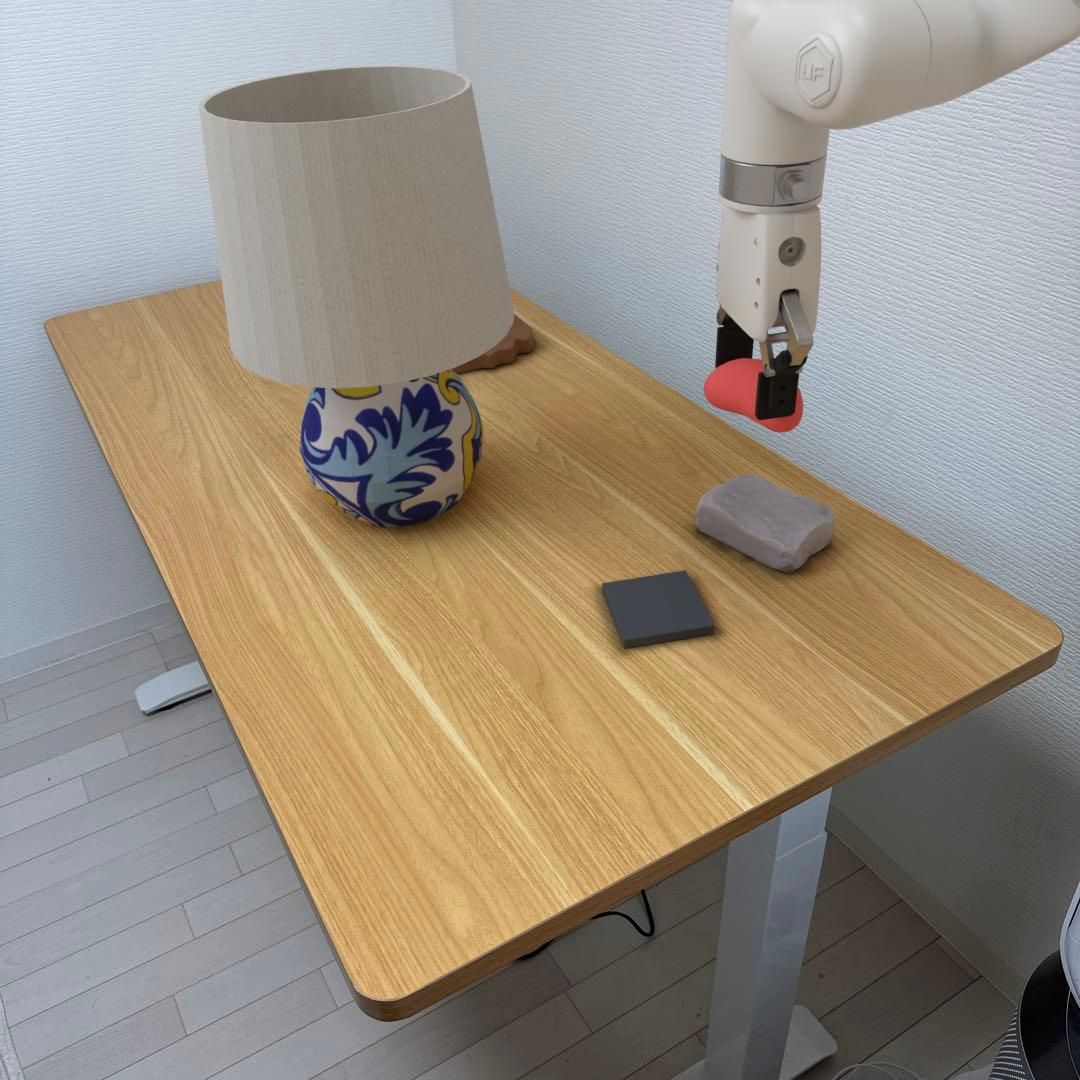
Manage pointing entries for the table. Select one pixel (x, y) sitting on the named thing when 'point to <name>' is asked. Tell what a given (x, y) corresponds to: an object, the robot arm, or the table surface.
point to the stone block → (765, 521)
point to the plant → (503, 348)
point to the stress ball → (745, 393)
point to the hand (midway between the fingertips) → (752, 390)
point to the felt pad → (656, 609)
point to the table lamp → (363, 272)
